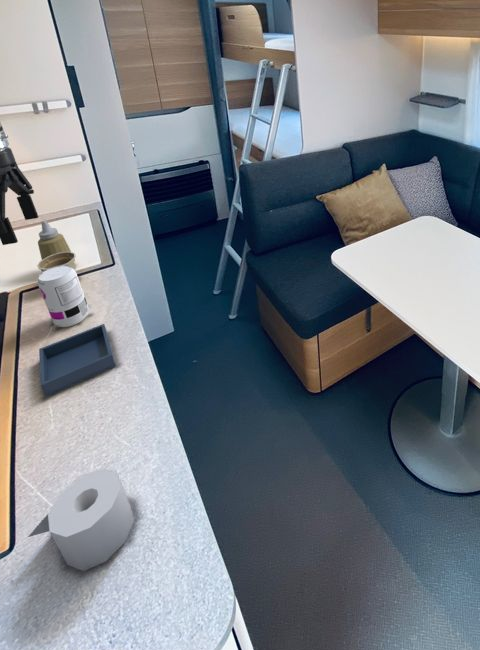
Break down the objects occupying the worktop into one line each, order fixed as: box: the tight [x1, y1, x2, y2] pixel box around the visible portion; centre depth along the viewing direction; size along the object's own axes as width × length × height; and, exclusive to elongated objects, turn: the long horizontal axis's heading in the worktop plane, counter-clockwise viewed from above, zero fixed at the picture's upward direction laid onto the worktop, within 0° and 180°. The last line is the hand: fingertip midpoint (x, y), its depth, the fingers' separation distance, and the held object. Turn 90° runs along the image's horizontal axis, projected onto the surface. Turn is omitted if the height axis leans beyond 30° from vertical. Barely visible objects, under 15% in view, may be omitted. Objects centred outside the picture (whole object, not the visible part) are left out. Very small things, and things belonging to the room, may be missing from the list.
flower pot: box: [36, 251, 77, 273], centre depth 125 cm, size 9×9×9 cm
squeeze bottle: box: [37, 220, 72, 260], centre depth 131 cm, size 8×8×18 cm
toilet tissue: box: [27, 467, 135, 572], centre depth 63 cm, size 9×13×9 cm
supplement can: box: [37, 265, 91, 328], centre depth 109 cm, size 8×8×15 cm
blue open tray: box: [38, 323, 117, 398], centre depth 97 cm, size 13×13×4 cm
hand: (21, 230), depth 103 cm, fingers open, 13 cm apart
